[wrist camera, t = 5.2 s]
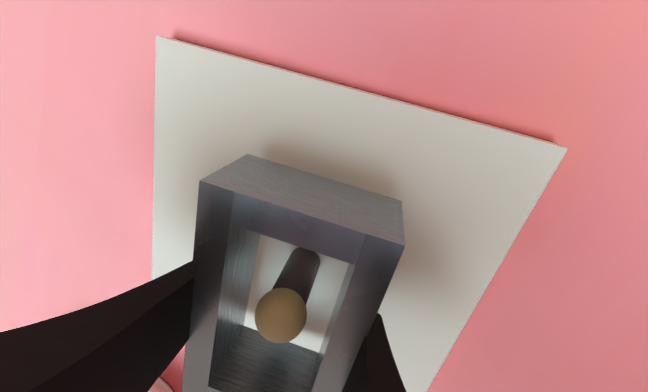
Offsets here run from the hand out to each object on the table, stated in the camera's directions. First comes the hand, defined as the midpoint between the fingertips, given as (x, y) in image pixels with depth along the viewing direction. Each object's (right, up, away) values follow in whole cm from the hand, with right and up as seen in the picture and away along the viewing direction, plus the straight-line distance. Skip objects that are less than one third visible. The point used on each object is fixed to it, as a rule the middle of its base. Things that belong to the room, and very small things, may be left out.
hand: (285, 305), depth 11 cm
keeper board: (+1, +1, +4) cm, 4 cm away
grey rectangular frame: (0, +1, +1) cm, 2 cm away
